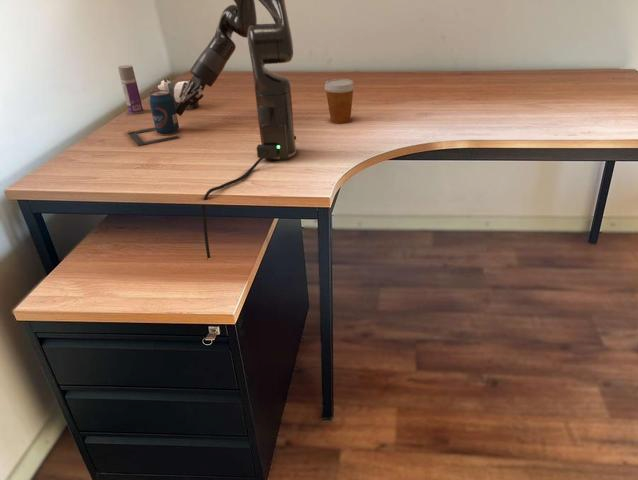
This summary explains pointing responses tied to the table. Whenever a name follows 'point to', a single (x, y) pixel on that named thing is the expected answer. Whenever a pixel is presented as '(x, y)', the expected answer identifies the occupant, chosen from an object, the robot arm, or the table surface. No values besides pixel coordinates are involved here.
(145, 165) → the table surface
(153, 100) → the soda can
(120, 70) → the container
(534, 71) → the table surface
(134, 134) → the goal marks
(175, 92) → the giant panda
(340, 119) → the disposable coffee cup
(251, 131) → the table surface
